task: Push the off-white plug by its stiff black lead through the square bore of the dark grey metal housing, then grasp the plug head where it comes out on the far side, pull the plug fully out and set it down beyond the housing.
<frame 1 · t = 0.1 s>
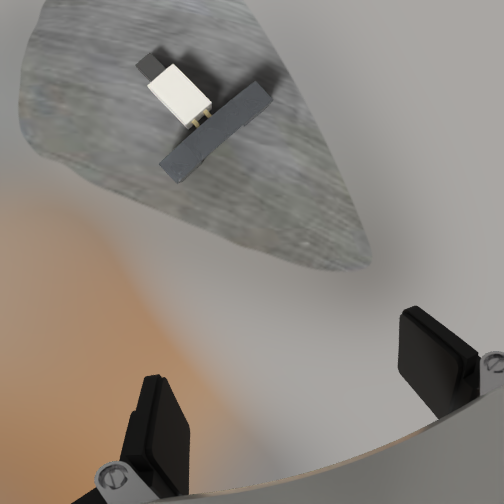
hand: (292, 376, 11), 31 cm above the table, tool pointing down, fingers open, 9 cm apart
plug: (172, 90, 35), on the table
housing: (215, 135, 37), on the table
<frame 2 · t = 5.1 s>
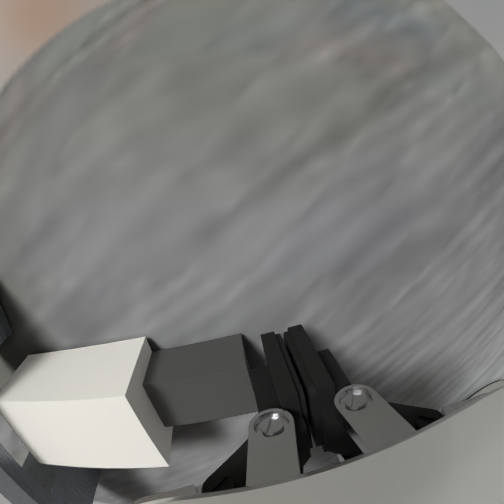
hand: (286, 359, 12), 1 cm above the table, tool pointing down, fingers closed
plug: (132, 377, 13), on the table, touching gripper
housing: (25, 389, 13), on the table
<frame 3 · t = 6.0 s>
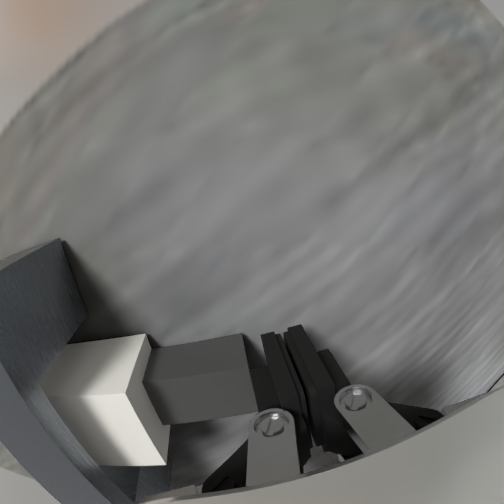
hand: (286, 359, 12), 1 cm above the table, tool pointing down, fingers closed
plug: (130, 374, 13), on the table, touching gripper
housing: (93, 382, 13), on the table
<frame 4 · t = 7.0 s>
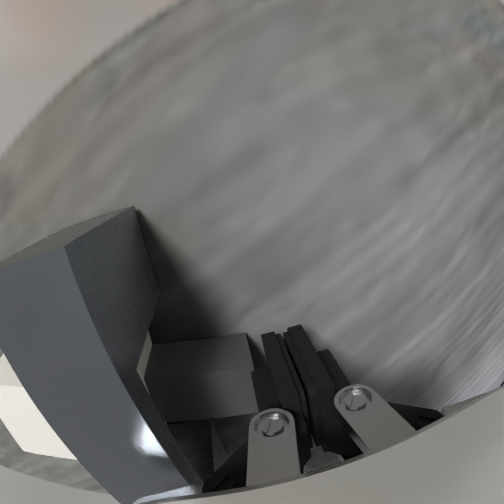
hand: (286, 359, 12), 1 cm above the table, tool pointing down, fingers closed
plug: (127, 368, 13), on the table, touching gripper
housing: (155, 370, 13), on the table
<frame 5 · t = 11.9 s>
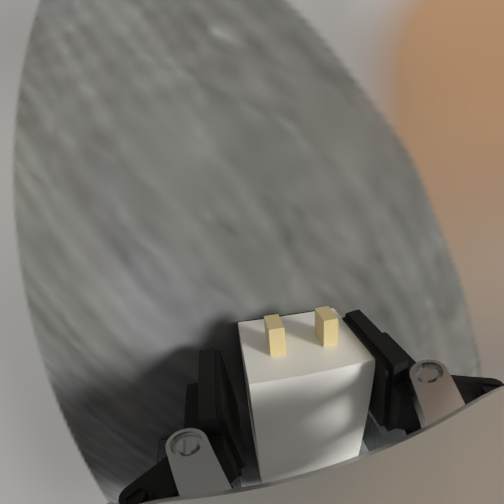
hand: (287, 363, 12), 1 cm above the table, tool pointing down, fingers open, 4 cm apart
plug: (290, 411, 14), on the table, touching gripper
housing: (295, 433, 14), on the table
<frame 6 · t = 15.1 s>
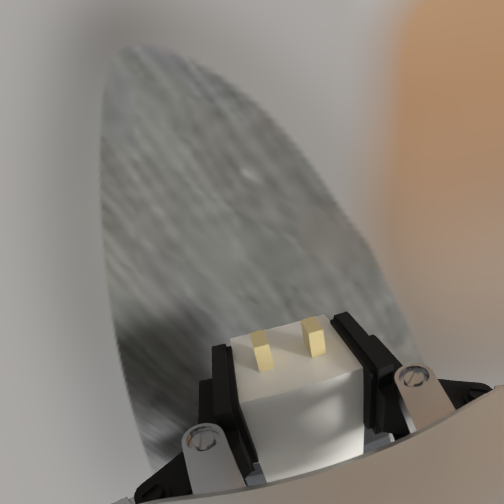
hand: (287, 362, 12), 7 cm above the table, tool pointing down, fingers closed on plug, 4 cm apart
plug: (295, 417, 14), point 7 cm above the table, touching gripper
housing: (291, 416, 23), on the table
when the fingers open (2 cm above the table, at t = 18.3 s): plug drops 1 cm, on the table.
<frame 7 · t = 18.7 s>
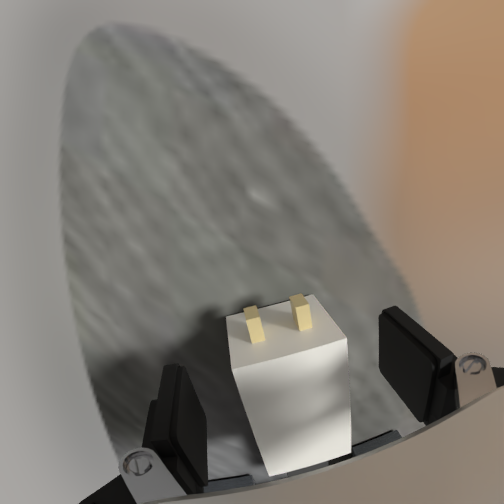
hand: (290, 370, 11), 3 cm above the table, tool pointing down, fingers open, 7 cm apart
plug: (288, 394, 15), on the table
housing: (304, 473, 18), on the table
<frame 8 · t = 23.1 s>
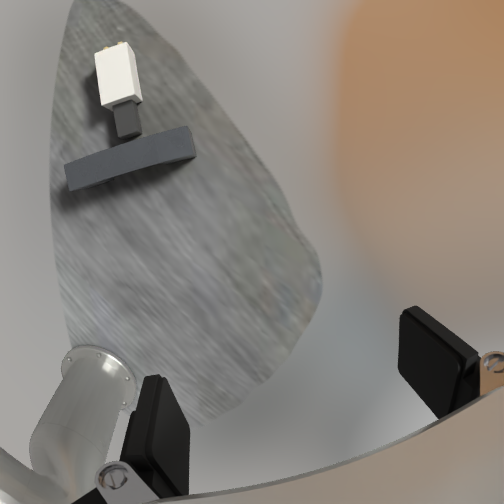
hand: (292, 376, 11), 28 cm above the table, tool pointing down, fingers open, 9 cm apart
plug: (125, 95, 32), on the table
housing: (137, 159, 34), on the table
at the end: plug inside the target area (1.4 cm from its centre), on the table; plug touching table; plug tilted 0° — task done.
